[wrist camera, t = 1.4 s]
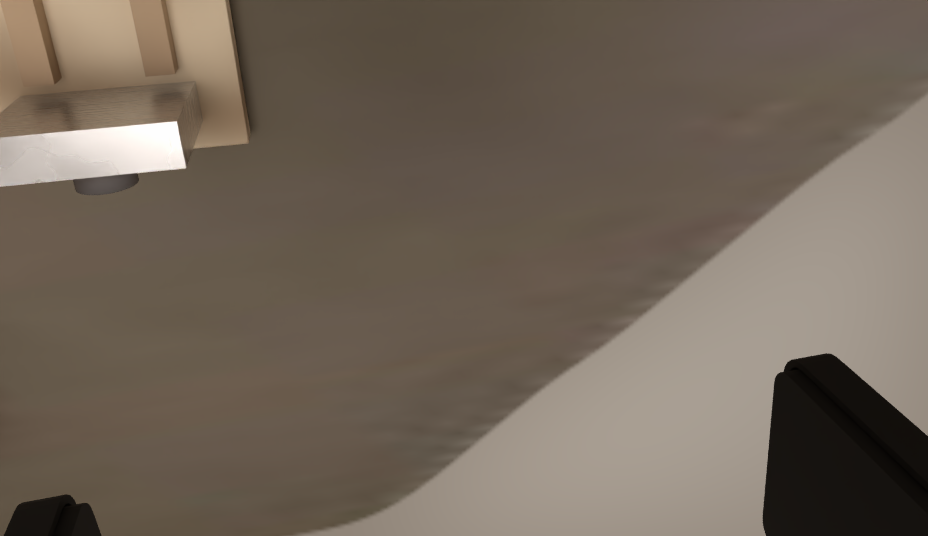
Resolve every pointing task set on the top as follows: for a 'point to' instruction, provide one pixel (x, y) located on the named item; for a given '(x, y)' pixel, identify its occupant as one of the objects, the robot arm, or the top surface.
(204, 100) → the roll cradle
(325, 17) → the top surface
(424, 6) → the top surface
